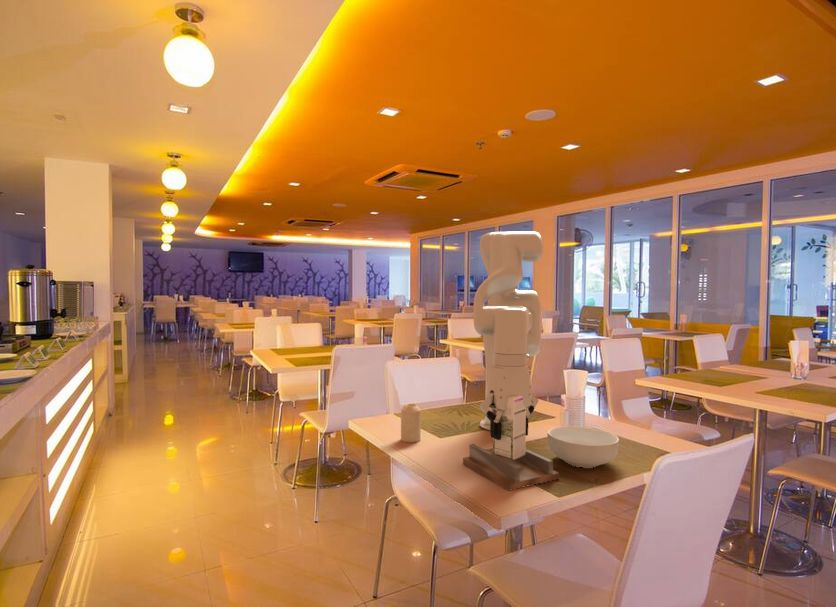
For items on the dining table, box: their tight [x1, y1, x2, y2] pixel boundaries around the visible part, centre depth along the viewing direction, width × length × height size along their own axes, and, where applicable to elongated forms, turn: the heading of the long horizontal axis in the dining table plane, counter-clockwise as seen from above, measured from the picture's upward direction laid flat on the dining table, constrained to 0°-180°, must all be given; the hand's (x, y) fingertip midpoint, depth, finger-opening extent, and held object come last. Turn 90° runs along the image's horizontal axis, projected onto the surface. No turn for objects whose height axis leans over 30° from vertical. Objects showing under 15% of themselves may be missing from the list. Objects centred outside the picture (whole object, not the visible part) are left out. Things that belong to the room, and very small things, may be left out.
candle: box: [400, 403, 422, 444], centre depth 141 cm, size 6×6×10 cm
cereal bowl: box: [547, 425, 620, 469], centre depth 123 cm, size 17×17×7 cm
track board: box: [462, 443, 560, 491], centre depth 117 cm, size 14×18×4 cm
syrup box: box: [492, 395, 527, 460], centre depth 117 cm, size 6×6×14 cm
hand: (509, 435), depth 117 cm, fingers closed on syrup box, 7 cm apart
